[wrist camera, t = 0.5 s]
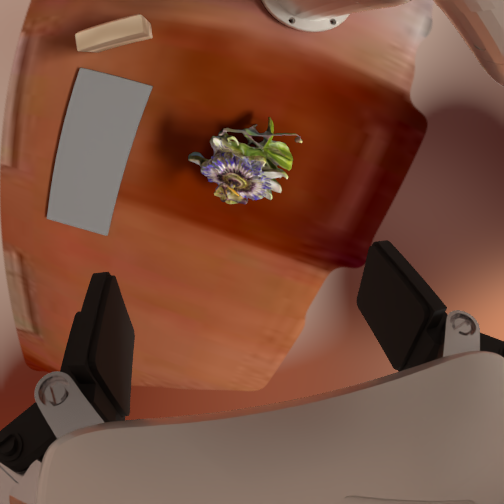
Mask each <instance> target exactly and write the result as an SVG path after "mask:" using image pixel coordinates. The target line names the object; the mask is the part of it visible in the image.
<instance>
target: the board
mask: <svg viewBox="0 0 504 504" xmlns="http://www.w3.org/2000/svg"><path fill="white" fill-rule="evenodd" d="M75 38H76V45H77V51H83V52H101V51H105V50H108V49H111V48H115V47H119V46H122V45H126V44H130V43H134V42H138V41H142V40H147V39H151V38H152V30H151V24H150V23H149V22H148V21H147V20H146V19H145V18H144V17H143V16H142V15H140V14H135V15H131V16H127V17H124V18H120V19H116V20H113V21H109V22H106V23H103V24H99V25H96V26H93V27H90V28H87V29H84V30H81V31H79V32H77V34H75Z"/></svg>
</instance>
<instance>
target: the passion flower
mask: <svg viewBox="0 0 504 504" xmlns="http://www.w3.org/2000/svg"><path fill="white" fill-rule="evenodd" d="M268 118H269V121H268V129H267V130H266V132H265V133H258V131H257V130H256V129H255V127H256V126H257V124H255V125H253V126H252V127H250V128H246V129H243V130H235V129H230V128H223V129H222V130H221V131H220V132H219V134H218V136H212V137H211V139H210V144H211V147H212V148H213V150H214V155H213V156H211V159H206V158H204V157H203V156H202V154H200V153H199V152H193V153H191V154H189V156H188V161H191V162H194V163H196V164H198V165H200V167H201V172H202V174H203V175H205V176H206V177H207V178H208V181H209V182H216V183H217V184H218V185H219V186H218V187H217V188H216V192H214V195H216V196H218V197H221V198H220V199H221V201H222V202H226V203H228V204H235V203H241V204H247V203H248V202H247V200H248V199H247V200H246V199H244V197H246V198H249V199H250V198H251V199H252V200H257V199H262V198H263V197H264V196H265V197H266V198H268V199H270V200H271V199H272V192H271V190H273V191H275V192H278V193H281V191H282V189H281V185H280V184H279V183H278V182H277V181H276V180H275V178H280V177H282V176H283V177H285V178H286V179H288V175H287V174H286V173H285V172H284V171H283V170H282V169H279V168H277V165H279V166H281V167H282V168H284V169H288V171H289V170H291V168H292V161H293V157H292V155H291V153H290V151H289V148H288V147H287V145H286V144H285V143H283V142H277V141H272V138H273V135H275V136H276V135H280V136H281V135H297V134H295V133H276V134H273V131H274V126H273V121H272V120H271V118H270V117H268ZM227 132H237V133H242V134H243V135H244V136H245V137H246V138H247V140H248V144H245V143H240V142H238V141H237V139H236V138H235V137H234V136H231V135H228V134H227ZM252 136H262V137H263V138H264V140H263V141H262V142H260V143H257V142H255V141H254V140H253V139H252ZM297 136H298V135H297ZM230 140H234V141H230ZM295 142H299V143H302V139H301V138H300V136H298V137H296V138H295ZM251 143H253V144H255V145H256V147H251V146H249V145H250V144H251Z"/></svg>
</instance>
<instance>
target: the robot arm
mask: <svg viewBox="0 0 504 504" xmlns="http://www.w3.org/2000/svg"><path fill="white" fill-rule="evenodd" d="M409 1H411V0H262V3H263V4H264V6H265V7H266V9H267V10H268V11H269V13H270V14H271V15H272V16H273V17H274V18H276V19H277V20H278V21H279V22H281V23H283V24H284V25H286V26H288V27H290V28H293V29H296V30H299V31H305V32H321V31H326V30H330V29H332V28H335V27H337V26H338V25H340V24H341V23H342V22H344V21H345V20H346V18H347V17H348V16H349V14H351V13H357V12H362V11H368V10H374V9H380V8H387V7H394V6H399V5H402V4H405V3H407V2H409ZM433 1H434V2H435V3H436V5H437V6H439V7H440V8H441V10H442V11H443V12H444V13H445V15H446V16H447V17H448V19H449V20H450V21H451V23H452V24H453V25H454V27H455V28H456V29H457V31H458V32H459V34H460V35H461V37H462V38H463V39H464V41H465V42H466V44H467V45H468V47H469V48H470V50H471V51H472V53H473V54H474V56H475V57H476V59H477V60H478V62H479V63H480V65H481V66H482V67H483V69H484V70H485V71H486V72H487V74H488V75H489V76H490V77H491V78H492V79H493V80H495V81H496V82H497V83H498V84H500V85H502V86H503V87H504V0H433ZM289 19H290V20H291V21H292V22H291V23H290V22H289ZM330 21H331V22H332V24H331V23H330ZM357 305H358V308H359V310H360V311H361V313H362V315H363V316H364V318H365V320H366V321H367V323H368V325H369V326H370V328H371V330H372V331H373V333H374V335H375V336H376V338H377V340H378V342H379V343H380V345H381V347H382V349H383V350H384V352H385V354H386V356H387V357H388V359H389V361H390V363H391V364H392V366H393V368H394V369H396V370H398V371H399V372H397V373H394V374H391V375H388V376H384V377H381V378H378V379H374V380H371V381H367V382H364V383H360V384H357V385H353V386H349V387H346V388H342V389H338V390H334V391H330V392H326V393H322V394H317V395H313V396H309V397H304V398H300V399H294V400H290V401H285V402H279V403H274V404H269V405H263V406H257V407H251V408H244V409H238V410H231V411H224V412H216V413H207V414H198V415H188V416H178V417H166V418H153V419H137V420H126V421H125V416H129V413H130V393H131V376H132V362H133V350H134V339H135V335H134V329H133V326H132V324H131V321H130V318H129V315H128V312H127V310H126V307H125V304H124V301H123V298H122V295H121V292H120V289H119V286H118V283H117V280H116V277H115V276H111V275H110V273H109V272H103V273H94V274H93V275H92V278H91V281H90V284H89V287H88V290H87V293H86V297H85V300H84V303H83V306H82V310H81V312H77V313H76V315H75V317H74V321H73V324H72V328H71V331H70V335H69V339H68V342H67V346H66V350H65V354H64V358H63V362H62V366H61V370H60V372H52V373H49V374H47V375H45V376H44V377H43V378H42V379H41V380H40V381H39V382H38V384H37V385H36V388H35V400H36V403H34V404H33V405H32V406H31V407H29V408H28V409H27V410H26V411H24V412H23V413H22V414H21V415H19V416H18V417H17V418H16V419H14V420H13V421H12V422H11V423H10V424H8V425H7V426H6V427H5V428H3V429H2V430H1V431H0V504H504V341H501V340H498V339H496V338H493V337H490V336H488V335H485V334H482V333H480V328H479V324H478V323H477V321H476V320H475V318H474V317H473V316H471V315H470V314H468V313H466V312H463V311H459V310H457V311H452V312H450V313H449V314H448V315H447V313H446V312H445V311H446V309H447V307H446V306H445V305H444V303H443V302H442V301H441V300H440V299H439V297H438V296H437V295H436V294H435V292H434V291H433V290H432V289H431V288H430V286H429V285H428V284H427V283H426V282H425V281H424V280H423V278H422V277H421V276H420V275H419V274H418V272H417V271H416V270H415V269H414V268H413V267H412V266H411V265H410V264H409V262H408V261H407V260H406V259H405V258H404V257H403V256H402V254H401V253H399V251H398V250H397V249H396V248H395V247H394V246H393V245H392V244H391V243H390V242H389V241H378V242H374V243H373V244H372V246H370V247H369V250H368V255H367V259H366V263H365V268H364V272H363V276H362V280H361V284H360V288H359V292H358V296H357Z"/></svg>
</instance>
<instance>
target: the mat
mask: <svg viewBox="0 0 504 504" xmlns="http://www.w3.org/2000/svg"><path fill="white" fill-rule="evenodd" d="M152 87H153V86H150V85H147V84H143V83H140V82H136V81H133V80H129V79H126V78H122V77H118V76H114V75H110V74H106V73H102V72H98V71H94V70H90V69H85V68H80V70H79V73H78V76H77V79H76V82H75V85H74V88H73V91H72V95H71V98H70V102H69V105H68V109H67V113H66V116H65V120H64V124H63V128H62V133H61V137H60V141H59V146H58V151H57V156H56V161H55V166H54V172H53V178H52V184H51V191H50V198H49V205H48V214H47V219H50V220H53V221H57V222H60V223H64V224H67V225H71V226H74V227H78V228H81V229H85V230H88V231H92V232H95V233H99V234H102V235H106V236H107V235H108V232H109V227H110V223H111V219H112V214H113V210H114V206H115V202H116V198H117V195H118V191H119V187H120V183H121V180H122V176H123V173H124V169H125V166H126V163H127V159H128V156H129V153H130V150H131V146H132V143H133V140H134V137H135V134H136V131H137V128H138V125H139V122H140V120H141V117H142V114H143V111H144V108H145V106H146V103H147V100H148V98H149V95H150V93H151V90H152Z"/></svg>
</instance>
